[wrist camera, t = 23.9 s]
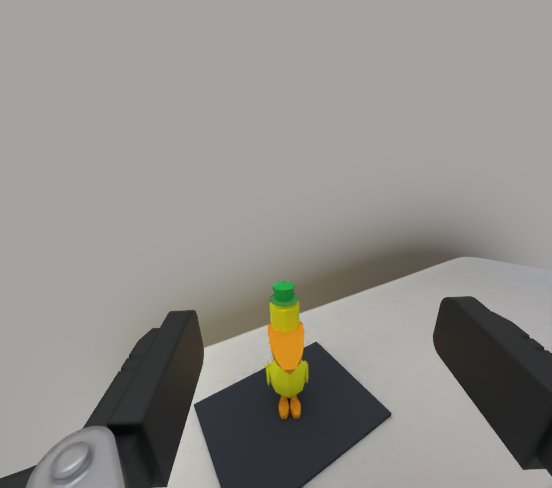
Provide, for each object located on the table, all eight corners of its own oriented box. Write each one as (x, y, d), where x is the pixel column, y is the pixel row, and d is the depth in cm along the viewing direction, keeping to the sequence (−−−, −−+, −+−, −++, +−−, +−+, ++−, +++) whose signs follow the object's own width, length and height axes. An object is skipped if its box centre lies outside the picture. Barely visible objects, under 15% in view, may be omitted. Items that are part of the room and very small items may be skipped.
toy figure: (316, 451, 20) (317, 321, 15) (268, 454, 20) (255, 325, 15) (304, 375, 26) (303, 267, 22) (268, 378, 26) (259, 270, 22)
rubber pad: (237, 538, 16) (237, 536, 16) (194, 406, 24) (193, 404, 24) (391, 415, 22) (391, 413, 22) (316, 343, 30) (316, 341, 30)
